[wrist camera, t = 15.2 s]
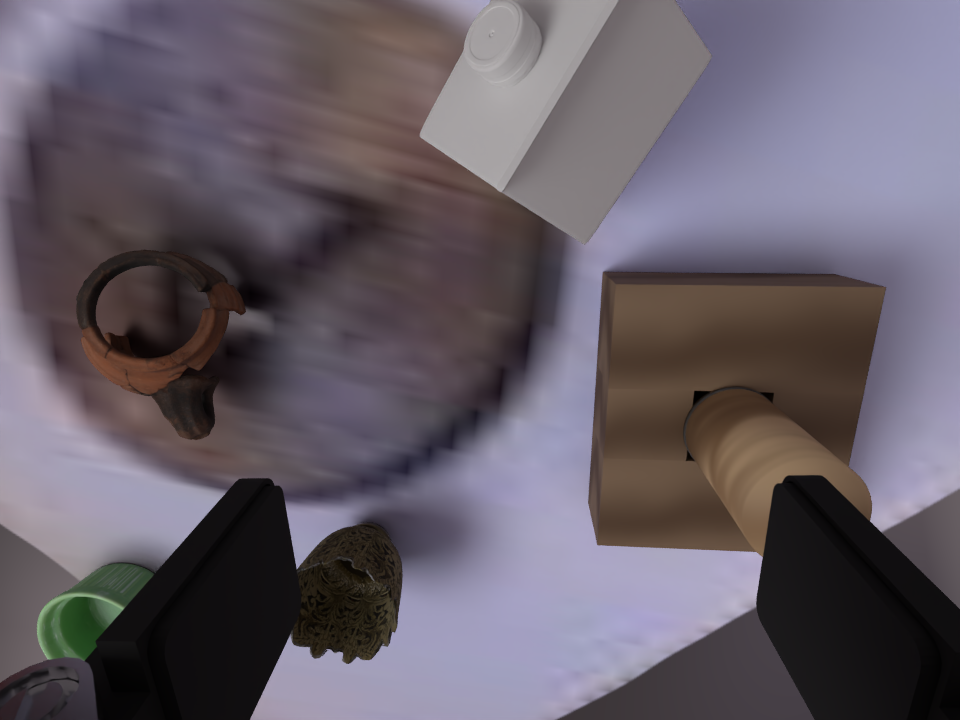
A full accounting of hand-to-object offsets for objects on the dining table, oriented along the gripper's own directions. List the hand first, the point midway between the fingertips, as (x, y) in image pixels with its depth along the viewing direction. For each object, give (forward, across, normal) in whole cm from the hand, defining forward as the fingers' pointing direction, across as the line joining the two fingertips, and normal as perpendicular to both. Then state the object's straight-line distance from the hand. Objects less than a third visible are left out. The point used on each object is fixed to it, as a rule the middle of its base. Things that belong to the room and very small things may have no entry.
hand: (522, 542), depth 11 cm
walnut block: (+26, -12, +8) cm, 30 cm away
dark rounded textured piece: (+26, +11, +19) cm, 34 cm away
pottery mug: (+27, +22, +3) cm, 35 cm away
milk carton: (+27, -2, -8) cm, 28 cm away
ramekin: (+26, +31, +25) cm, 48 cm away
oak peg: (+25, -12, +8) cm, 29 cm away
